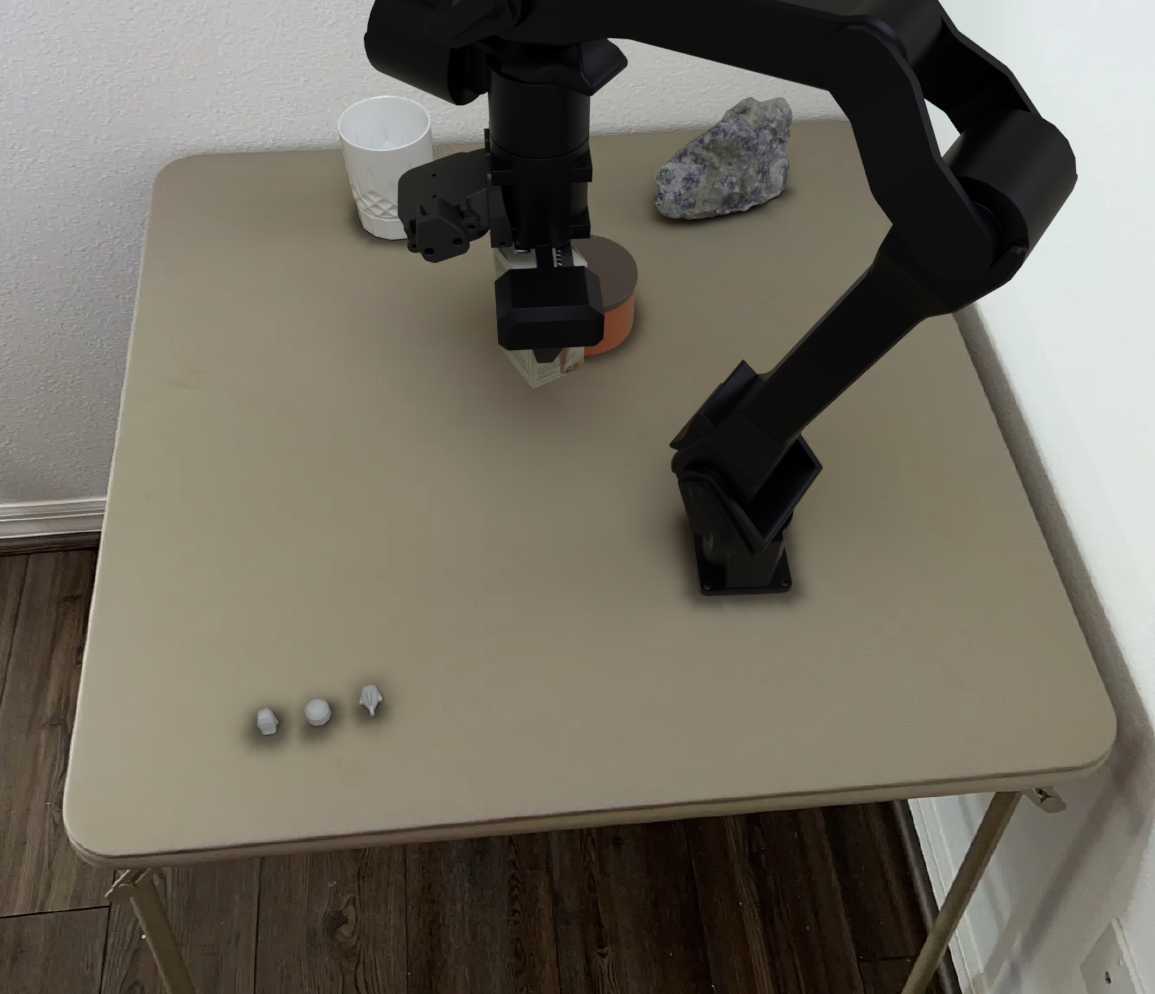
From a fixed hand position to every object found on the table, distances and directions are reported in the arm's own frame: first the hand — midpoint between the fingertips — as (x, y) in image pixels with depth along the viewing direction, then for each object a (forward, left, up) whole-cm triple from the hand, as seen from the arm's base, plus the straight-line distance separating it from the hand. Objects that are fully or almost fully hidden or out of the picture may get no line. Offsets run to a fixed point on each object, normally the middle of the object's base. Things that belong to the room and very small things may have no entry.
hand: (541, 327), depth 77 cm
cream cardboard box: (0, 0, -3) cm, 3 cm away
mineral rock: (+30, -18, -13) cm, 38 cm away
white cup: (+28, +12, -13) cm, 34 cm away
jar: (+14, -4, -13) cm, 20 cm away
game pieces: (-22, +15, -13) cm, 30 cm away
